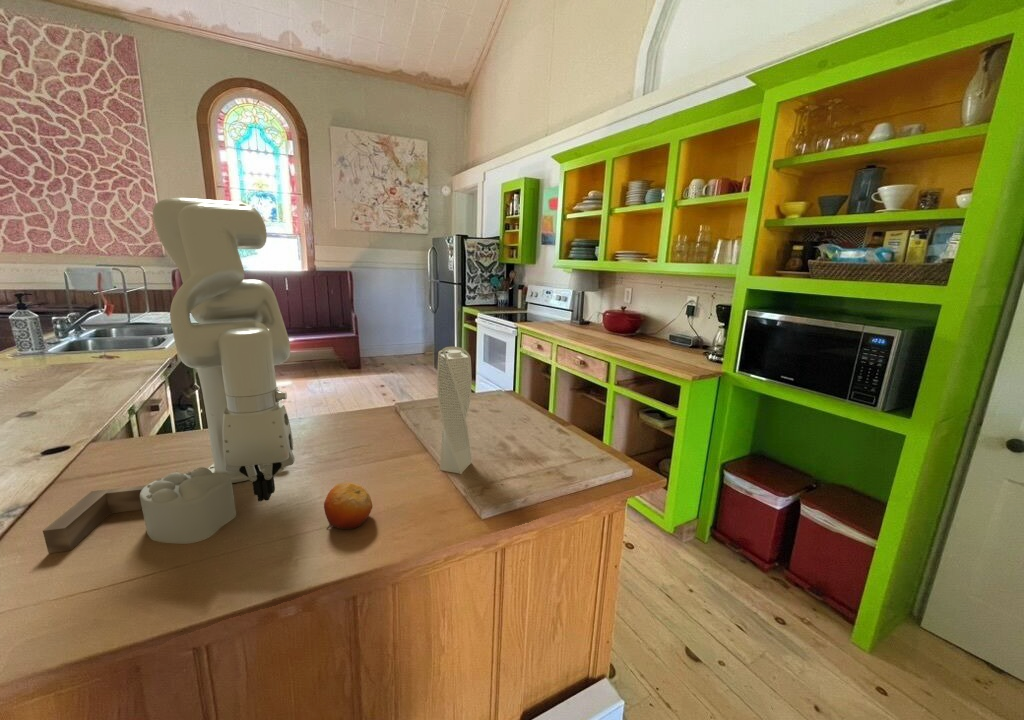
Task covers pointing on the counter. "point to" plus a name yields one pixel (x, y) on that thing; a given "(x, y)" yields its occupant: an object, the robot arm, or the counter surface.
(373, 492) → the counter surface
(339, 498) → the fruit
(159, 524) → the lumpy-topped squat cylinder
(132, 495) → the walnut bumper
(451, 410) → the skyscraper
